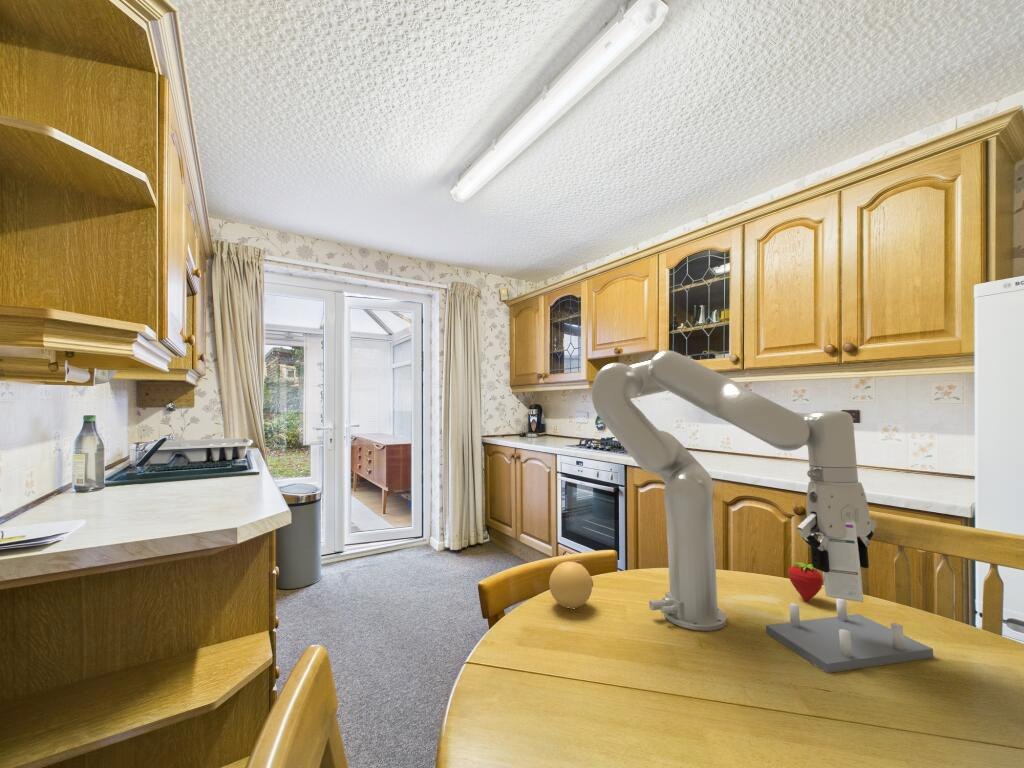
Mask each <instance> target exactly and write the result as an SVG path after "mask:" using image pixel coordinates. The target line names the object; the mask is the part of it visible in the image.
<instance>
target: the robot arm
mask: <svg viewBox="0 0 1024 768" xmlns="http://www.w3.org/2000/svg"><path fill="white" fill-rule="evenodd" d="M667 391H668V392H670V393H671V394H674V395H675V396H677V397H679V398H681V399H683V400H685V401H687V402H688V403H690V404H691V405H694V406H696V407H697V408H699V409H701V410H703V411H704V412H707V413H708V414H710V415H711V416H713V417H716V418H717V419H718V418H719V419H721V420H723V421H726V422H727V423H729V424H731V425H733V426H735V427H737V428H738V429H741V430H742V431H744V432H745V433H748V434H749V435H751V436H753V437H755V438H757V439H759V440H760V441H763V442H765V444H768V445H769V446H771V447H773V448H775V449H778V450H780V451H787V452H788V451H789V452H790V451H791V452H792V451H796V450H798V449H799V450H800V449H801V448H802V447H804V446H806V447H807V453H808V464H809V465H808V467H809V468H808V470H807V472H806V473H807V476H808V477H809V479H810V481H809V482H808V486H807V491H806V518H805V519H804V520H802V521H801V522H800V524H798V526H796V530H797V532H798V533H799V534H800V535H801V537H802V540H804V541H805V543H807V546H808V547H809V548H810V551H811V564H812V566H813V568H815V570H817V569H818V570H817V571H821V572H822V573H823V572H829V571H830V569H829V556H828V551H827V550H824V549H825V547H826V545H827V543H828V541H829V538H831V539H841V538H845V537H846V524H845V523H846V520H852V521H855V523H856V533H857V542H858V551H859V560H860V568H863V569H868V568H869V566H870V565H869V555H868V547H870V545H871V541H870V540H871V539H872V537H874V536H873V535H874V531H875V529H876V527H877V521H876V520H874V519H873V518H871V517H870V509H869V504H868V501H867V496H866V491H865V488H864V486H863V483H862V482H860V481H859V476H858V475H859V474H858V466H857V452H856V440H855V427H854V419H853V416H852V415H851V413H849V412H847V411H841V410H832V411H830V410H826V411H825V410H824V411H813V412H810V413H809V412H794V411H792V410H790V409H788V408H786V407H784V406H782V405H780V404H778V403H776V402H774V401H773V400H770V399H769V398H766V397H765V396H762V395H760V394H758V393H756V392H754V391H752V390H750V389H748V388H746V387H744V386H743V385H741V384H739V382H736V381H735V380H733V379H731V378H729V377H727V376H725V375H723V374H722V373H719V372H717V371H715V370H713V369H711V368H709V367H708V366H705V365H703V364H701V363H699V362H697V361H695V360H693V359H692V358H689V357H688V356H685V355H683V354H682V353H678V352H677V351H673V350H662V351H660V352H658V353H656V354H655V355H654V356H653V357H652V358H651V360H650V359H649V360H647V361H643V362H639V363H634V364H631V365H628V364H625V363H621V362H612V363H608V364H606V365H604V366H602V368H601V369H600V370H598V372H597V374H596V375H595V377H594V380H593V383H592V388H591V398H592V399H591V400H592V404H593V408H594V410H595V412H596V414H597V416H598V417H599V418H600V420H601V422H602V423H603V424H604V425H605V427H606V428H607V429H608V430H609V431H610V433H611V434H612V435H613V436H614V437H615V439H616V440H617V442H619V444H620V445H622V447H623V448H624V449H625V451H626V452H627V453H628V454H629V455H630V456H631V457H632V459H633V460H634V461H635V463H636V464H637V465H638V466H639V467H640V469H642V470H643V471H644V472H647V473H650V474H656V475H657V477H659V478H660V479H661V481H662V482H663V483H664V485H665V486H664V490H663V504H664V512H665V519H666V521H665V523H666V539H667V540H666V541H667V557H668V558H667V559H668V577H669V578H668V579H669V582H668V583H669V592H665V595H664V596H665V597H662V599H653V600H652V599H651V600H649V602H648V607H649V609H650V610H651V611H660V612H661V613H662V614H663V616H664V617H665V619H666V618H667V619H666V620H667V621H669V622H670V623H671V624H673V625H676V626H679V627H681V628H684V629H687V630H693V631H703V632H707V631H710V632H711V631H716V630H720V629H723V628H724V627H725V626H726V624H727V615H726V613H725V612H724V611H723V610H722V609H720V608H719V607H718V590H717V589H718V587H717V571H716V569H717V568H716V567H717V566H716V548H715V547H716V546H715V534H714V531H715V530H714V518H713V494H714V487H715V486H714V481H713V478H712V477H711V474H710V473H709V472H708V471H707V470H706V468H704V466H703V465H702V464H701V463H700V462H699V461H698V460H697V459H696V458H695V457H694V456H693V454H692V453H690V451H689V450H687V448H686V447H685V446H684V445H683V444H682V443H681V442H680V441H679V440H678V438H676V436H674V435H673V434H671V433H669V432H667V431H663V430H659V429H658V428H657V427H656V426H655V425H654V424H653V422H651V421H650V420H649V419H648V418H647V416H646V415H645V414H644V413H643V411H642V410H640V409H639V408H638V407H637V406H636V405H635V403H633V401H632V400H631V399H636V398H640V397H641V398H642V397H646V396H651V395H654V394H659V393H663V392H667ZM819 529H820V530H819ZM820 531H821V532H820ZM820 536H821V539H820ZM818 539H819V540H818Z"/></svg>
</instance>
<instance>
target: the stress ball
mask: <svg viewBox="0 0 1024 768" xmlns="http://www.w3.org/2000/svg"><path fill="white" fill-rule="evenodd" d="M548 582H549V584H548V585H549V591H550V594H551V596H552V597H553V599H554V601H555V602H556V603H558V604H559V605H560V606H562V607H563V608H566V607H569V608H576V607H577V608H580V607H581V606H583V605H584V604H586V603H587V602H588V601H589V599H590V597H591V595H592V591H593V587H594V579H593V576H591V575H590V573H589V571H588V570H587V568H586V567H585V566H584V565H583V564H581V563H578V562H576V561H573V560H566V561H564V562H561V563H558V565H557V566H556V567H554V569H553V571H552V572H551V574H550V576H549V581H548ZM577 608H576V609H577Z"/></svg>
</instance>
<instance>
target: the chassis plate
mask: <svg viewBox="0 0 1024 768" xmlns="http://www.w3.org/2000/svg"><path fill="white" fill-rule="evenodd" d="M835 599H836V601H835V603H836V616H829V617H820V618H815V619H813V618H812V619H806V620H805V619H804V620H801V615H800V606H799V604H797V603H794V602H791V603H789V619H790V621H788V622H780V623H772V624H771V623H770V624H765V633H766V634H767V635H769V637H772V638H773V639H775V640H776V641H778V642H779V643H781V644H782V645H784V646H785V647H787V648H789V649H790V650H792V651H793V652H795V653H796V654H798V655H799V656H801V657H802V658H804V659H805V660H807V661H808V662H810V663H811V664H813V665H814V666H816V667H817V668H819V669H820V670H822V671H824V672H825V673H827V674H830V673H835V672H837V673H838V672H842V671H849V670H856V669H857V670H858V669H864V668H871V667H876V666H883V665H891V664H898V663H905V662H911V661H912V662H913V661H918V660H926V659H932V658H934V648H932V647H930V646H928V645H926V644H925V643H922V642H919V641H918V640H916V639H913V638H910V637H908V636H907V635H905V634H904V627H903V625H902V624H901V623H898V622H891V623H890V628H889V627H888V626H885V625H883V624H881V623H879V622H877V621H875V620H872V619H870V618H868V617H866V616H864V615H862V614H859V613H855V614H848V610H847V600H843V599H837V598H835Z"/></svg>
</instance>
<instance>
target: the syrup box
mask: <svg viewBox="0 0 1024 768" xmlns="http://www.w3.org/2000/svg"><path fill="white" fill-rule="evenodd" d="M845 524H846V537H845V538H841V539H831V538H829V541H828V543H827V545H826V547H825V549H824V550H827V551H828V556H829V569H830V571H829V572H823V571H822V574H823V575H822V578H823V584H824V585H823V587H824V592H825V596H826V597H829V598H833V599H836V598H837V599H843V600H846V601H850V602H858V603H864V594H863V584H862V583H863V582H862V572H861V570H862V569H861V567H860V560H859V551H858V542H857V533H856V523H855V521H852V520H846V523H845ZM819 530H820V529H819ZM820 532H821V531H820ZM820 539H821V536H819V540H820Z"/></svg>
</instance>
